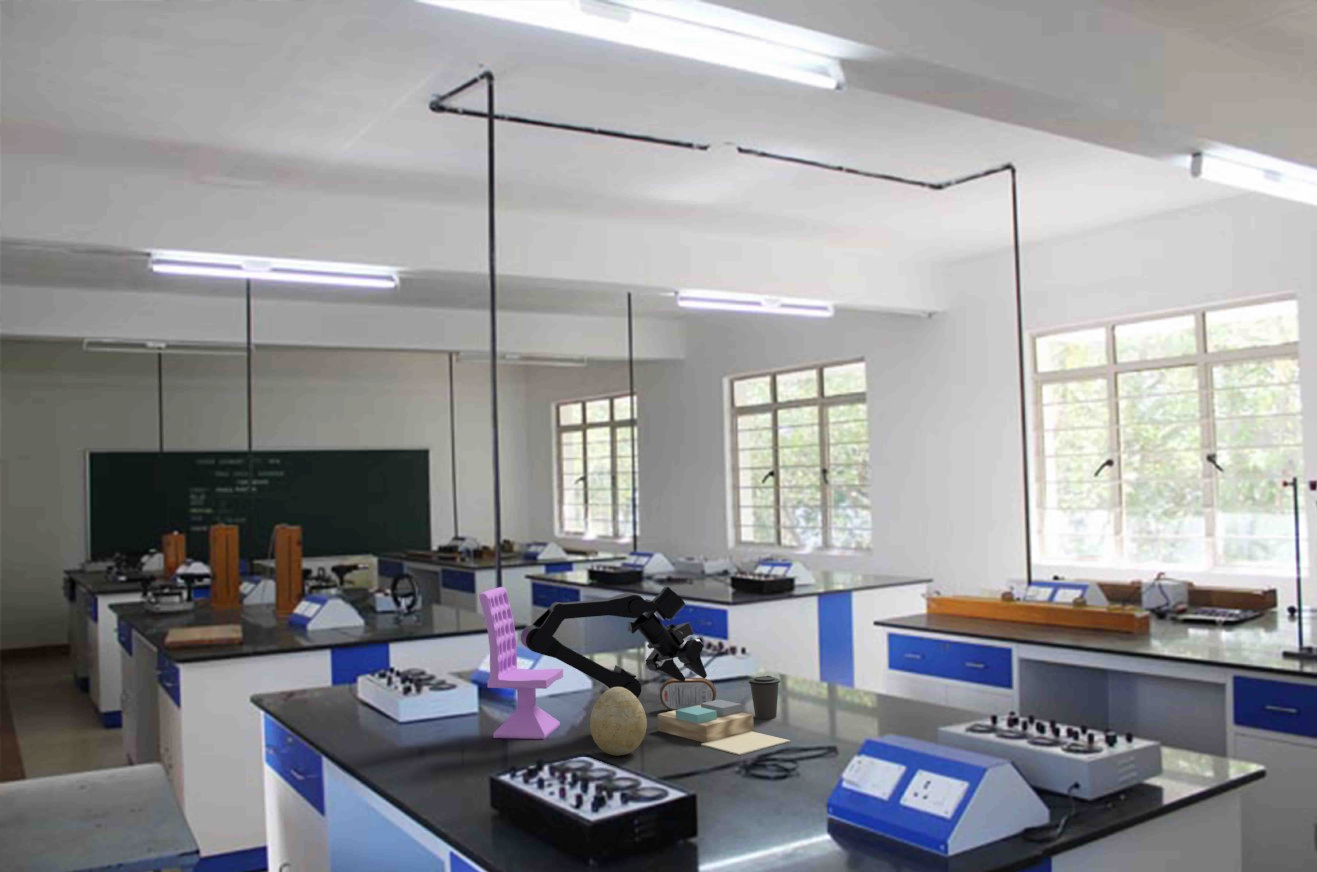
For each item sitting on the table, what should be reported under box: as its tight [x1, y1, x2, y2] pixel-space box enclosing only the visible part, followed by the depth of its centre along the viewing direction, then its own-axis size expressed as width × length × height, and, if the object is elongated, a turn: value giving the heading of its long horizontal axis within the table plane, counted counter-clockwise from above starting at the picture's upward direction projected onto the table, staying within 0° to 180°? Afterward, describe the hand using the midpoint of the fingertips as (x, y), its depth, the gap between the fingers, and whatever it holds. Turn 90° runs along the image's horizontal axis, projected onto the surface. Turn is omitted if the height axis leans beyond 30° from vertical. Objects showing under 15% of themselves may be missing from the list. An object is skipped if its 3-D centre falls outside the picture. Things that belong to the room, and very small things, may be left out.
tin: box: [659, 677, 717, 711], centre depth 275 cm, size 15×3×8 cm, turn 84°
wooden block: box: [657, 705, 755, 743], centre depth 251 cm, size 15×18×4 cm
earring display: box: [478, 586, 564, 740], centre depth 257 cm, size 15×17×35 cm
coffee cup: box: [748, 675, 781, 720], centre depth 264 cm, size 8×8×10 cm
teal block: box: [676, 706, 717, 724], centre depth 247 cm, size 6×8×2 cm
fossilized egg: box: [589, 687, 648, 757], centre depth 232 cm, size 13×13×15 cm
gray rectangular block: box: [701, 699, 743, 717], centre depth 253 cm, size 6×8×2 cm
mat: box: [700, 731, 791, 756], centre depth 238 cm, size 16×13×1 cm
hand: (694, 678), depth 260 cm, fingers open, 9 cm apart
